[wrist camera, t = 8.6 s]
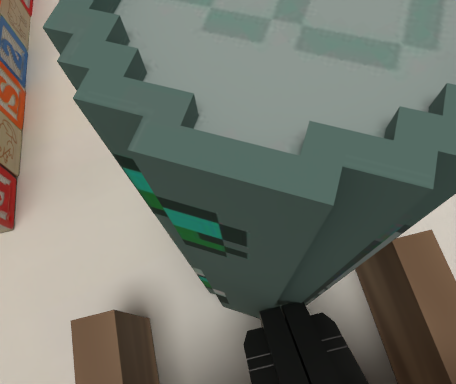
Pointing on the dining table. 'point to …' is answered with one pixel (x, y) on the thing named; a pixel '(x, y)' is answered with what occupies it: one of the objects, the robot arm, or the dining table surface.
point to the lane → (375, 294)
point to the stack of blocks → (12, 99)
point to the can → (271, 127)
